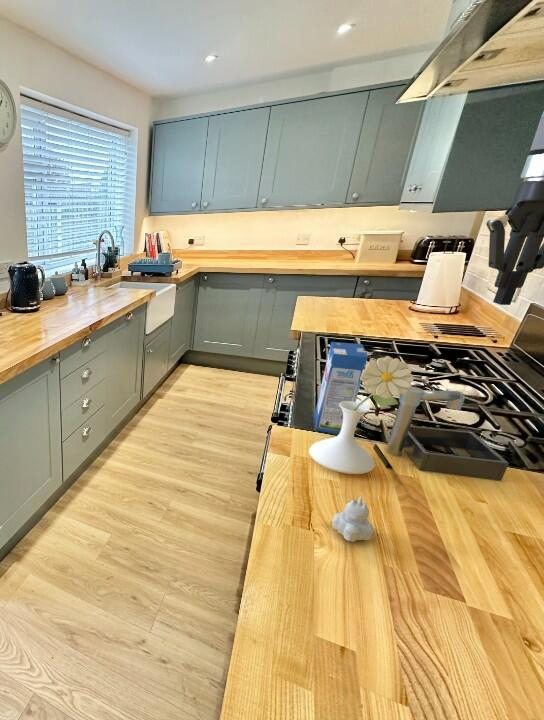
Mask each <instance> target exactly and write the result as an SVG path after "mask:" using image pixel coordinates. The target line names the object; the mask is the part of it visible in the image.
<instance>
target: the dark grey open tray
mask: <svg viewBox="0 0 544 720" xmlns="http://www.w3.org/2000/svg"><path fill="white" fill-rule="evenodd" d="M423 445H425V446H435V447H442V448H452V449H461V450H465V451H466V453H468V454H469V457H468V456H463V455H455V454H454V455H453V454H446V453H445V454H444V453H438V452H428V451H427V449H426V448H424V446H423ZM402 452H404V453H405V455H406V456H407V457H408V459H409V460H410V461H411V463H412V464H413V465H414V467H416V469H417V470H418V471H420V472H428V473H435V474H444V475H450V476H451V475H452V476H459V477H468V478H473V479H474V478H475V479H482V480H489V481H498V482H502V480H503V478H504V476H505V473H506V471H507V469H508V467H509V465H510V463H509V462H508V461H507V460H505V458H504V457H502V456H501V455H500V454H499V453H498V452H497V451H496V450H494V449H493V448H492V447H491V446H490V445H488V443H486V442H485V441H484V440H483V439H482V438H480V436H479V435H478V434H476V433H475V432H474V431H467V430H459V429H458V430H457V429H448V428H438V427H428V426H420V425H419V426H418V425H411V426H410V429H409V432H408V435H407V438H406V441H405V444H404V447H403V450H402Z"/></svg>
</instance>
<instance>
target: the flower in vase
mask: <svg viewBox="0 0 544 720" xmlns="http://www.w3.org/2000/svg"><path fill="white" fill-rule="evenodd" d="M360 380H362V381H361V385H362V386H364V390H365V391H366V392H369V395H367V397H365V398H364V399H363V400H362V398H360V397H358V395H357V396H355V395H352V394H350V393H348V392H347V391H346V390H345V389H344V392H345V393H346V394H348V395H350V396H353V397H355V398H357V399H356V400H359V401H360V402H358V401H356V402H352V401H343V402H340V403H339V405H340V407H341V409H342V411H343V425H342V429H341V432H340V433H339V434H337V435H336V436H334V437H331V438H330V437H329V438H326V439H322V440H319V441H317V442H314V443H313V444H312V445H311V446H310V447H309V450H308V452H309V455H310V458H311V459H312V460H313V461H315V462H316V463H317V464H319V465H320V466H322V467H324V468H326V469H328V470H331V471H333V472H337V473H342V474H347V475H363V474H367V473H369V472H371V471H373V470H374V468H375V461H374V457H373V456H371V454H370V452H368V451H367V450H366V449H365V448H364V447H363V446H361V444H359V443H358V442H357V441H356V439H355V431H356V429H357V426H358V423H359V422H360V420H361V418H362V417H363V416H364V415H365V414H367V413H368V412H370V410H371V408H370V407H369V406H368V405H367V404H364V402H366V401H368V400H369V399H371V397H372V399H373V400H374V402H375V403H376V404H377V405H379V406H382V407H383V406H385V407H386V406H395V405H398V404H399V405H400V402H399V401H397V399H396V398H395V397H400V396H401V394H405V393H406V392H407V388H410V387H412V382H414V375H413V374H412V371H411V369H410V368H409V364H408V363H406V362H405V361H403V360H400V359H399V358H393V357H391V356H389V355H386V356H385V357H379V358H377V360H375V359H374V360H373V359H372V360H370V361H367V363H366V366H365V369H364V370H363V373H362V374H361V377H360Z"/></svg>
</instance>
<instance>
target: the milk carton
mask: <svg viewBox="0 0 544 720" xmlns="http://www.w3.org/2000/svg"><path fill="white" fill-rule="evenodd" d="M368 358H369V357H368V354H367V351H366V349H365V347H364V344H362V343H351V342H341V341H340V342H338V341H330V346H329V350H328V355H327V358H326V363H325V367H324V372H323V375H322V380H321V385H320V389H319V394H318V396H317V397H318V398H317V402H316V406H315V410H314V424H315V431H317V432H323V433H329V434H335V435H339V433H340V432H341V429H342V425H343V411H342V409H341V407H340V405H339V403H340V402H343V401H352V402H357V400H358V399H357V398H355V397H353V396H350V395H348V394H346V393H345V392H344V389H345V390H346V391H347V392H348V393H350V394H352V395H355V396H357V397H358V396H359V391H360V387H361V385H362V382H363V381H362V380H360V377H361V374H362V373H363V370H364V369H365V368H366V365H367V363H368Z"/></svg>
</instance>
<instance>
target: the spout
mask: <svg viewBox="0 0 544 720" xmlns="http://www.w3.org/2000/svg"><path fill="white" fill-rule="evenodd" d="M465 399H466V398H465V397H464V393H463V392H461V391H459V390H424V389H422V388H420V387H416V386H411V387H410V388H407V392H406V393H405V394H401V395H399V399H398V403H399V404H400V403H402V404H404V405H408V406H417V407H419V406H420V404H421V401H433V402H435V401H436V402H438V401H440V402H446V403H445V408H447V409H449V410H454V411H461V410H462V407H463V405H464V402H465Z"/></svg>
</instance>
